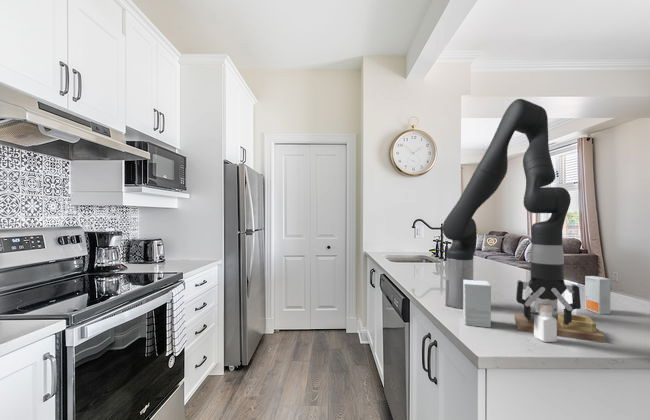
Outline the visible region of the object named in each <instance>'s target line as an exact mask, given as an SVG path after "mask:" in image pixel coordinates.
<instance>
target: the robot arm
mask: <svg viewBox="0 0 650 420" xmlns="http://www.w3.org/2000/svg"><path fill="white" fill-rule="evenodd" d="M548 120H549V119H548V113H547V110H546V109H545V108H544V107H542V106H540V105H539V104H537V103H536V104H535V103H534V102H531V101H529V100H527V99H523V98H518V99H515V100H513V101H512V102H511V103H510V104H509V105H508V106H507V108H506V109H505V112H504V113H503V115H502V117H501V119H500V121H499V124H498V126H497V128H496V130H495V134H494V135H493V137H492V140H491V141H490V144H489V145H488V147H487V149H486V151H485V153H484V155H482V158H481V160H480V161H479V163H478V165H477V166H476V168H475V170H474V172H473V174H472V175H471V177H470V180H469V181H468V183H467V185H466V187H465V188H464V190H463V192H462V194H461V196H460V197H459V199H458V201H457V202H456V203H455V205H454V206H453V208H452V209H451V211H450V212H449V213H448V215H447V216H446V218H445V220H443V224H442V233H443V236H445V237H446V239H448V240H451V245H450V247H449V248H448V249H447V251H446V271H445V272H446V278H445V306H447V307H448V306H449V307H451V308H456V309H463V280H474V255H475V253H476V250H477V249H476V248H477V235H478V232H477V231H478V229H477V224H476V222H475V220H474V218H473V216H475V213H476V212H477V210H478V209H479V208H480V207H481V206H482V205H483V204H484V203H486V201H488V200H489V199H490V198H491V197H492V196H493V195H494V194H495V193H496V192H497V190H498V189H499V187H500V185H501V183H502V182H503V181H504V178H505V177H506V175H507V172H508V149H509V145H510V142H511V139H512V137H513V135H514V134H515V132H518V133H521V134H524V135H525V136H526V138H527V141H528V143H529V144H528V146H527V148H526V151H525V152H524V154H523V157H522V167H523V171H524V175H525V189H524V190H525V191H524V195H523V206H524V208H525V210H526V211H528V212H529V213H531V214H550V216H549V217H548V219H547V220H545V221H538V222H535V223H533V224H532V225H531V227H530V230H531V231H530V233H531V235H530V238H531V239H530V242H531V244H530V255H529V260H530V261H529V263H530V264H529V265H530V270H529V272H530V277H529V281H522V280H521V279H518V280H517V283H516V297H515V298H516V302H517V303H518V304H521V305H523V315H524V316H525V318H527V320H531V311H532V310H531V309H532V308H531V304H532V303H534V302H535V300H536V299H537V298H540V299H550V300H556V299H557V301H559V302H560V303H561V304H562V306H563V307H564V308H563V314H564V324H565V325H569V323H571V322H572V315H573V314H572V312H573V310H580V309H581V307H582V304H581V295H580V287H579V286H578V285H577V284H575V283H573V284H566V283H565V261H564V260H565V258H564V256H565V254H564V248H563V246H564V245H563V230H564V225H565V222H566V221H565V220H566V216H567V214H568V212H569V209H570V206H571V200H572V199H571V195H570V193H569V191H568V190H567V189H566V188H565V187H562V186H561V187H560V186H556V187H555V186H554V187H553V186H552V187H551V186H549V185H551V184H552V183H553V182H555V179H556V172H555V167H554V165H553V161H552V158H551V153H550V146H549V123H548V122H549V121H548ZM527 287H529V288H530V290H531V292H530V293H529V294H528V296H527V297H526V298H525V299H524V298H523V292H524V290H526V289H527ZM567 290H568V292H569V293H570V294H571V297H572V298H571V300H572V301H571V302H572V303H569V301H568V300H566V299H565V297H564V296H563V294H564V292H565V291H567Z"/></svg>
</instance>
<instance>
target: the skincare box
mask: <svg viewBox="0 0 650 420" xmlns="http://www.w3.org/2000/svg"><path fill="white" fill-rule="evenodd" d="M611 281H612V280H611V279H610V278H606V277H601V276H596V275H585V276H584V283H585V284H584V310H587V311H590V312H593V313H595V314H598V315H610V314H611Z"/></svg>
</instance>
